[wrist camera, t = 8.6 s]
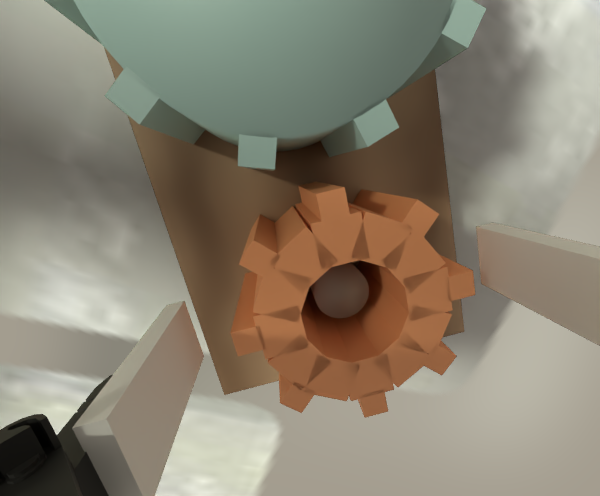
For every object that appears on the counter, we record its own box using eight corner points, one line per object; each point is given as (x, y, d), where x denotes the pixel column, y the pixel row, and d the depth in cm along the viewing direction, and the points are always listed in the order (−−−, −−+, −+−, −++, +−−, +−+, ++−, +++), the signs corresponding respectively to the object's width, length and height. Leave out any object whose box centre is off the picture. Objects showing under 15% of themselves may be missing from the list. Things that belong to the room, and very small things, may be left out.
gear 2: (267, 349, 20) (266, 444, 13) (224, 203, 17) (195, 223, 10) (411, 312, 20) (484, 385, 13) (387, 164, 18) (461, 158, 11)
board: (228, 375, 22) (209, 465, 15) (71, -94, 15) (-89, -306, 8) (447, 317, 22) (524, 380, 16) (387, -160, 16) (475, -410, 9)
